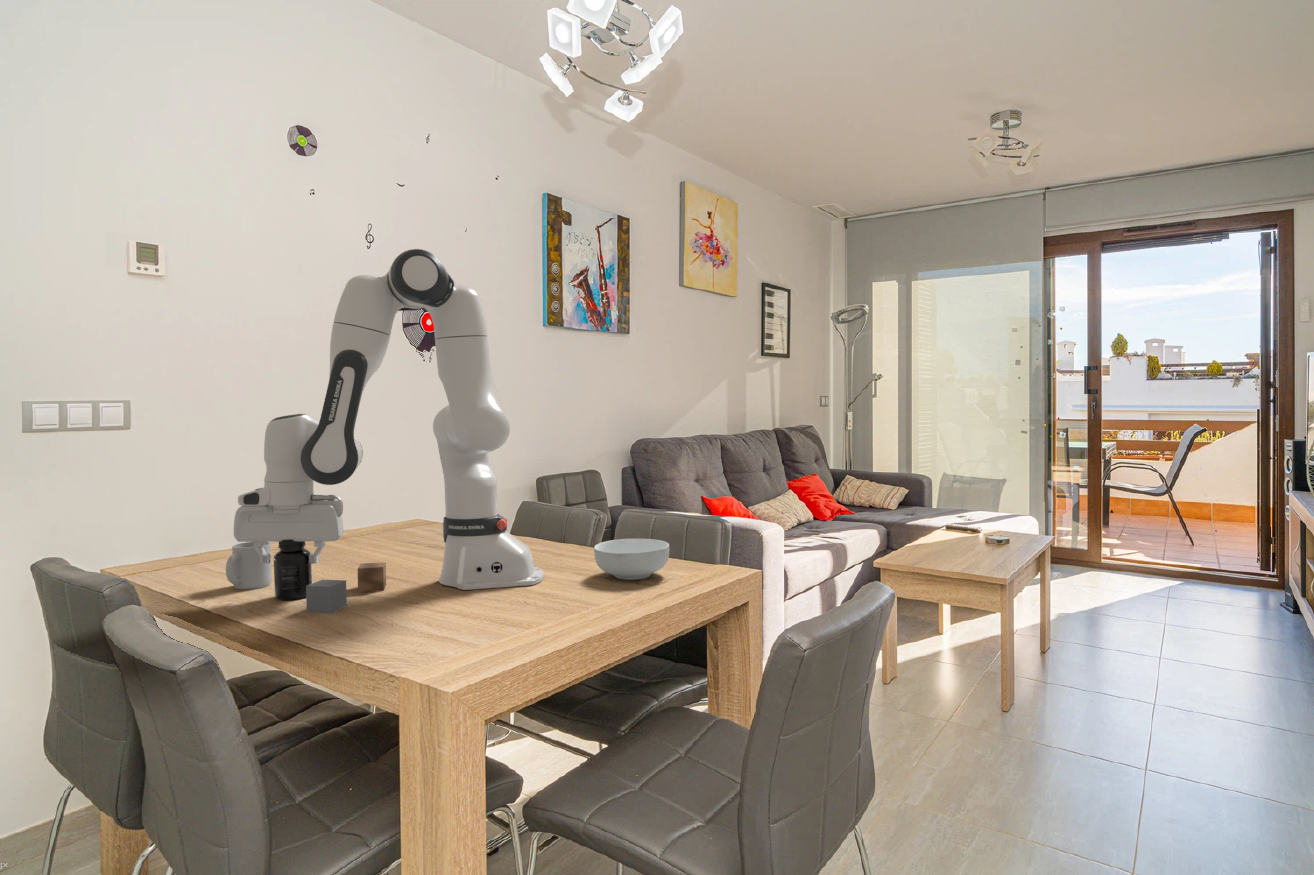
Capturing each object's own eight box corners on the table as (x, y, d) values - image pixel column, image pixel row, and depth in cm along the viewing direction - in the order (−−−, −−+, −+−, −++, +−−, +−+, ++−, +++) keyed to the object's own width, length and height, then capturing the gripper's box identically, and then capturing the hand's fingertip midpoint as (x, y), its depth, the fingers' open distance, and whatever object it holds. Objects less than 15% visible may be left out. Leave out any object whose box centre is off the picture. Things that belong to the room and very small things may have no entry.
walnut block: (386, 585, 158) (385, 562, 158) (383, 590, 154) (383, 567, 153) (361, 586, 157) (360, 563, 157) (358, 592, 152) (357, 568, 152)
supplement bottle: (320, 593, 151) (318, 535, 151) (293, 602, 145) (291, 541, 144) (293, 591, 154) (292, 533, 153) (266, 599, 147) (264, 539, 146)
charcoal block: (346, 606, 142) (346, 580, 142) (330, 613, 137) (330, 586, 137) (323, 605, 143) (322, 579, 143) (306, 612, 138) (305, 585, 138)
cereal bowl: (626, 564, 177) (625, 535, 176) (684, 573, 167) (683, 542, 167) (578, 578, 163) (578, 546, 163) (638, 589, 153) (638, 555, 153)
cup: (279, 582, 161) (278, 542, 160) (241, 594, 151) (240, 551, 151) (253, 580, 163) (251, 540, 162) (214, 592, 153) (212, 549, 153)
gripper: (347, 493, 152) (348, 559, 153) (244, 493, 150) (245, 560, 151) (337, 496, 146) (337, 566, 146) (229, 496, 144) (230, 567, 145)
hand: (289, 563), depth 149 cm, fingers open, 8 cm apart
